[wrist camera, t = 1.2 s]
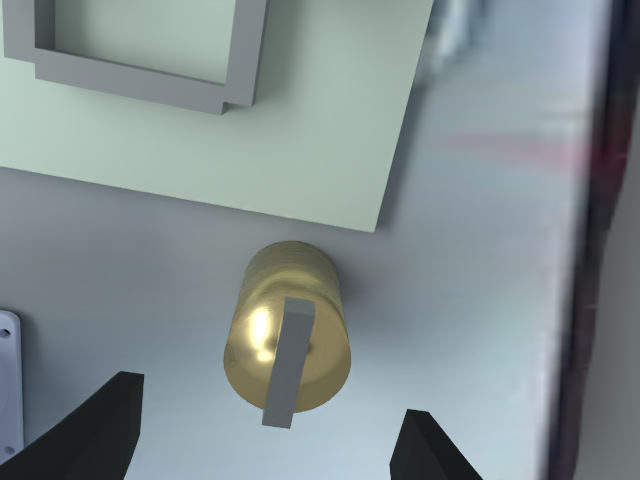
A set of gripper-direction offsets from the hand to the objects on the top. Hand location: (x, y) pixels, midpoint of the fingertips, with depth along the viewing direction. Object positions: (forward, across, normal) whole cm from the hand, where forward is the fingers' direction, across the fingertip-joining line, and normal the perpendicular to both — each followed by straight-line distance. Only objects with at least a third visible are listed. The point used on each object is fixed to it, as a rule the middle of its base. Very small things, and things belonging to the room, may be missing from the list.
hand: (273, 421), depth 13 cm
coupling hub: (+10, 0, 0) cm, 10 cm away
